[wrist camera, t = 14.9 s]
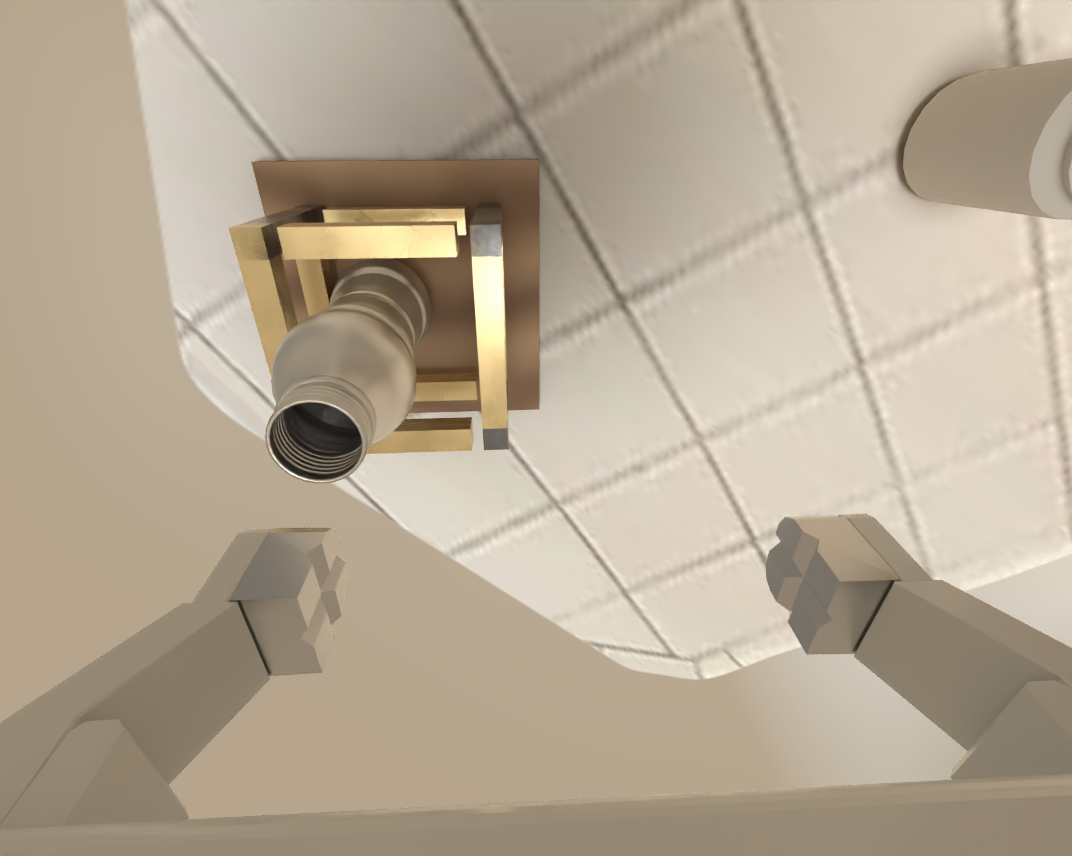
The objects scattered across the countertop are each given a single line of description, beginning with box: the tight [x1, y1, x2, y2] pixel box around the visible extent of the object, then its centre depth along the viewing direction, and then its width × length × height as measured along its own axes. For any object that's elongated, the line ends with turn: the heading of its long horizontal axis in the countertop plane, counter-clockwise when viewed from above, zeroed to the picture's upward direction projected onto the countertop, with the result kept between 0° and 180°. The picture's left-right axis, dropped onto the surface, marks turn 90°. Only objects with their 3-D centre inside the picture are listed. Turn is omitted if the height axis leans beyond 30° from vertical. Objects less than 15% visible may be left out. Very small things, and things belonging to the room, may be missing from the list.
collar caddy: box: [229, 203, 508, 454], centre depth 32 cm, size 13×13×10 cm
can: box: [903, 58, 1072, 220], centre depth 29 cm, size 8×8×12 cm
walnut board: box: [252, 160, 539, 413], centre depth 37 cm, size 18×18×1 cm
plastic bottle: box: [265, 258, 432, 483], centre depth 27 cm, size 6×7×20 cm
